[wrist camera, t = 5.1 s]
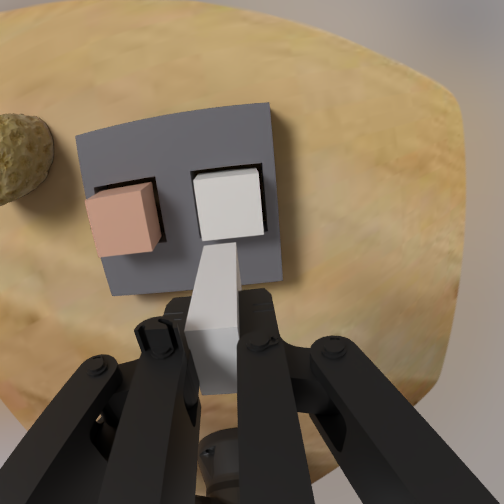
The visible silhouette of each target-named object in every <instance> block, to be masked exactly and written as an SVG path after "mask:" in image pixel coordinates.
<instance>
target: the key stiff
mask: <svg viewBox="0 0 504 504" xmlns="http://www.w3.org/2000/svg"><path fill="white" fill-rule="evenodd" d="M85 205H86V209H87V214H88V218H89V222H90V226H91V230H92V234H93V238H94V242H95V246H96V249H97V253H98V257H107V256H116V255H124V254H133V253H142V252H151V251H153V250H154V248H155V246H156V245H157V243H158V241H159V240H160V238H161V236H162V235H161V230H160V225H159V220H158V214H157V209H156V203H155V198H154V192H153V186H152V182H148V183H142V184H136V185H131V186H125V187H119V188H114V189H109V190H103V191H100V192H98V193H97V194H95V195H93V196H91V197H90V198H88V199H86V200H85Z"/></svg>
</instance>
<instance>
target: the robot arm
mask: <svg viewBox="0 0 504 504" xmlns="http://www.w3.org/2000/svg"><path fill="white" fill-rule="evenodd" d="M134 332H135V335H136V338H137V341H138V344H139V346H140V349H141V352H142V353H141V356H140V358H139V359H137V360H134V361H130V362H126V363H122V364H118V363H117V361H116V360H115V358H114V357H112V356H110V355H103V354H101V355H96V356H93V357H91V358H89V359H87V360H86V361H85V362H83V363H82V364H81V365H80V367H79V368H78V369H77V370H76V371H75V373H74V374H73V375H72V376H71V378H70V379H69V380H68V381H67V382H66V384H65V385H64V386H63V387H62V389H61V390H60V391H59V392H58V394H57V395H56V396H55V397H54V399H53V400H52V401H51V402H50V404H49V405H48V406H47V407H46V409H45V410H44V411H43V412H42V414H41V415H40V416H39V418H38V419H37V420H36V422H35V423H34V424H33V425H32V427H31V428H30V429H29V431H28V432H27V433H26V435H25V436H24V437H23V439H22V440H21V441H20V443H19V444H18V445H17V447H16V448H15V450H14V451H13V452H12V454H11V455H10V456H9V458H8V459H7V461H6V462H5V463H4V465H3V466H2V467H1V469H0V504H315V502H314V496H313V491H312V486H311V480H310V475H309V470H308V465H307V459H306V454H305V449H304V444H303V439H302V434H301V429H300V424H299V419H298V414H297V412H301V413H309V416H310V418H311V419H312V421H313V423H314V424H315V426H316V428H317V430H318V431H319V433H320V435H321V436H322V438H323V440H324V441H325V443H326V445H327V446H328V448H329V449H330V451H331V453H332V454H333V456H334V458H335V459H336V461H337V463H338V464H339V466H340V467H341V469H342V470H343V472H344V474H345V476H346V477H347V479H348V480H349V482H350V484H351V485H352V487H353V489H354V490H355V492H356V493H357V495H358V496H359V498H360V500H361V501H362V503H363V504H499V502H498V501H497V500H496V499H495V498H494V497H493V496H492V494H491V493H490V492H489V491H488V490H487V489H486V487H485V486H484V485H483V484H482V483H481V482H480V481H479V479H478V478H477V477H476V476H475V475H474V474H473V473H472V472H471V471H470V469H469V468H468V467H467V466H466V465H465V464H464V463H463V462H462V460H461V459H460V458H459V457H458V456H457V455H456V454H455V452H454V451H453V450H452V449H451V448H450V447H449V446H448V445H447V444H446V443H445V441H444V440H443V439H442V438H441V437H440V436H439V435H438V434H437V432H436V431H435V430H434V429H433V428H432V427H431V426H430V425H429V424H428V423H427V422H426V420H425V419H424V418H423V417H422V416H421V415H420V414H419V413H418V412H417V411H416V409H415V408H414V407H413V406H412V405H411V404H410V403H409V402H408V401H407V399H406V398H405V397H404V396H403V395H402V394H401V393H400V392H399V391H398V390H397V389H396V387H395V386H394V385H393V384H392V383H391V382H390V381H389V380H388V379H387V378H386V377H385V376H384V374H383V373H382V372H381V371H380V370H379V369H378V368H377V367H376V366H375V365H374V364H373V362H372V361H371V360H370V359H369V358H368V357H367V356H366V355H365V354H364V353H363V352H362V351H361V350H360V348H359V347H358V346H357V345H356V344H355V343H354V342H352V341H351V340H350V339H348V338H345V337H342V336H326V337H322V338H320V339H318V340H316V341H315V342H314V343H313V344H312V345H311V348H303V347H296V346H293V345H290V344H288V343H286V342H285V341H284V340H283V339H282V338H281V337H280V334H279V330H278V325H277V320H276V315H275V310H274V306H273V301H272V296H271V294H270V293H269V292H268V291H267V290H266V289H265V288H260V289H251V290H242V287H241V279H240V271H239V263H238V255H237V246H236V242H234V243H225V244H215V245H206V246H204V247H203V251H202V255H201V259H200V264H199V268H198V272H197V276H196V280H195V285H194V289H193V293H192V296H189V297H177V298H173V299H172V300H171V301H170V302H169V303H168V304H167V305H166V308H165V311H164V315H163V316H159V317H153V318H150V319H147V320H145V321H143V322H141V323H140V324H139V325H137V327H136V328H135V329H134ZM199 386H200V390H201V393H202V395H216V394H231V393H237V408H238V428H232V429H225V430H221V431H217V432H214V433H212V434H210V435H208V436H206V437H205V438H203V439H202V440H201V441H200V443H199V430H200V417H201V403H200V400H199V397H198V393H199ZM100 414H101V416H102V417H101V418H100V419H99V420H98V421H97V422H96V419H97V418H98V416H99V415H100ZM198 443H199V445H198ZM197 460H198V464H199V467H200V470H201V473H202V476H203V479H204V482H205V484H206V497H205V496H199V495H195V491H196V473H197Z"/></svg>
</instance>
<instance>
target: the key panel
mask: <svg viewBox="0 0 504 504" xmlns="http://www.w3.org/2000/svg"><path fill="white" fill-rule="evenodd" d="M75 137H76V144H77V151H78V157H79V163H80V169H81V175H82V180H83V185H84V190H85V195H86V199H88V198H90V197H91V196H93V195H95V194H97V193H98V192H100V191H103V190H107V185H109V184H114V183H119V182H125V181H130V180H136V179H142V178H148V177H154V176H155V177H156V184H157V190H158V196H159V202H160V207H161V213H162V218H163V224H164V229H165V232H162V233H161V235H162V236H161V238H160V240H159V241H158V243H157V245H156V246H155V248H154V250H153V251H151V252H142V253H133V254H124V255H116V256H107V257H101V261H102V264H103V268H104V271H105V274H106V278H107V281H108V284H109V287H110V291H111V294H112V296H122V295H135V294H148V293H161V292H173V291H184V290H193V289H194V285H195V280H196V276H197V272H198V268H199V264H200V259H201V255H202V251H203V247H204V246H206V245H215V244H225V243H234V242H236V246H237V255H238V263H239V271H240V279H241V285H247V284H256V283H266V282H275V281H283V278H282V261H281V244H280V229H279V215H278V201H277V187H276V174H275V162H274V150H273V138H272V127H271V116H270V105H269V102H268V103H255V104H243V105H233V106H224V107H216V108H208V109H201V110H194V111H187V112H181V113H175V114H169V115H163V116H158V117H153V118H147V119H143V120H138V121H133V122H128V123H124V124H120V125H115V126H111V127H107V128H103V129H99V130H95V131H91V132H88V133H84V134H81V135H77V136H75ZM255 163H260V167H261V178H262V189H263V201H264V212H265V221H263V229H264V235H256V236H246V237H237V238H227V239H218V240H209V241H202V236H201V230H200V224H199V217H198V210H197V203H196V197H195V190H194V182H193V180H194V179H195V178H196V174H195V170H202V169H210V168H218V167H227V166H236V165H245V164H255Z"/></svg>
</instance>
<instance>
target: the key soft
mask: <svg viewBox="0 0 504 504" xmlns="http://www.w3.org/2000/svg"><path fill="white" fill-rule="evenodd" d="M193 182H194V190H195V197H196V203H197V210H198V217H199V224H200V230H201V236H202V241H209V240H218V239H227V238H237V237H246V236H256V235H264V229H263V218H262V206H261V195H260V184H259V173H258V171H257V169H256V167H251V168H241V169H232V170H223V171H214V172H206V173H198V175H197V176H196V178H195V179H194V180H193Z"/></svg>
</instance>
